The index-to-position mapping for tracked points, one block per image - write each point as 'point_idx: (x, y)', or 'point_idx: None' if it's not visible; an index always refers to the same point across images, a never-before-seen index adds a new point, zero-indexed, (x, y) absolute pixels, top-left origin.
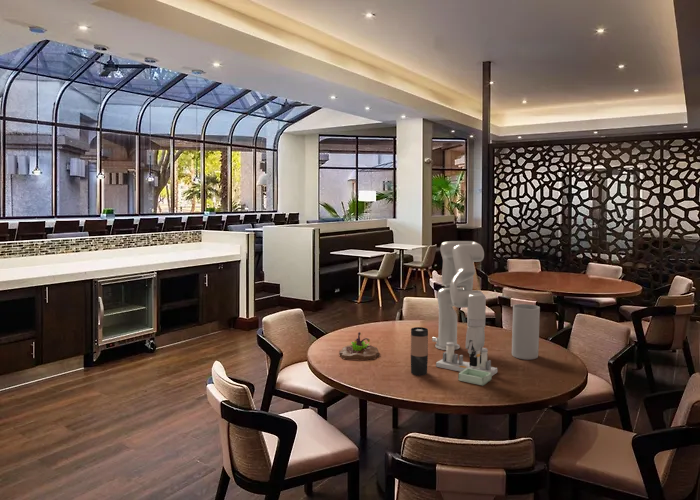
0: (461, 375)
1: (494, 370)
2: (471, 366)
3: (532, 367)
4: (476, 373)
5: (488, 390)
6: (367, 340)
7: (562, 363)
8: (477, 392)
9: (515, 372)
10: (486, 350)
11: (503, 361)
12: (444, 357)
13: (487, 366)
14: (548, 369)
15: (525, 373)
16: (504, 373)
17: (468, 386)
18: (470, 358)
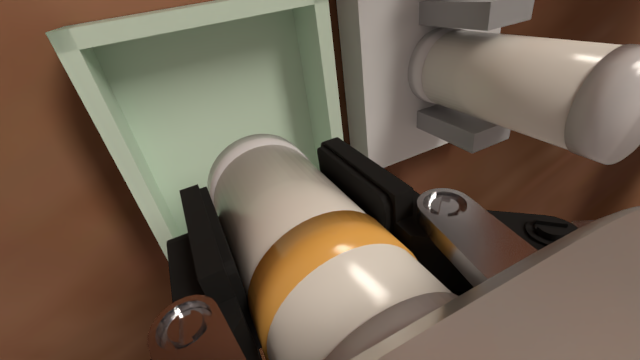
0: (73, 78)
1: (442, 142)
2: (217, 175)
3: (574, 171)
4: (313, 97)
5: (132, 326)
6: None
7: (627, 197)
8: (3, 338)
9: (496, 176)
10: (597, 161)
11: (630, 17)
12: None
13: (438, 127)
14: (566, 218)
15: (500, 209)
16: (462, 156)
17: (34, 212)
18: (197, 263)
